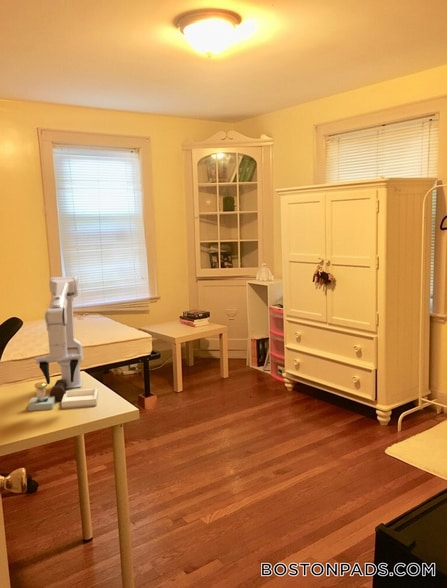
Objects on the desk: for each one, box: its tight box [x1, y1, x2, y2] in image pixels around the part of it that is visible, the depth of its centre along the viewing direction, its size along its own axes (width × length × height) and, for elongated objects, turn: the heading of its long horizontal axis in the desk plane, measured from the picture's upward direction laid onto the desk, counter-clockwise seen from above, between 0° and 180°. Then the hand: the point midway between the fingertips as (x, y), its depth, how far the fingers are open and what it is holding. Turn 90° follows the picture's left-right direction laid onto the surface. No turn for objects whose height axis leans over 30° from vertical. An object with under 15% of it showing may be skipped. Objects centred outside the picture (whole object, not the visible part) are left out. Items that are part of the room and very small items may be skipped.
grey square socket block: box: [27, 395, 56, 412], centre depth 172 cm, size 8×8×2 cm
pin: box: [34, 381, 48, 403], centre depth 172 cm, size 4×4×8 cm
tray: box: [61, 387, 99, 410], centre depth 176 cm, size 12×12×2 cm
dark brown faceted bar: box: [48, 378, 68, 402], centre depth 184 cm, size 6×5×15 cm
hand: (60, 382), depth 166 cm, fingers open, 7 cm apart
